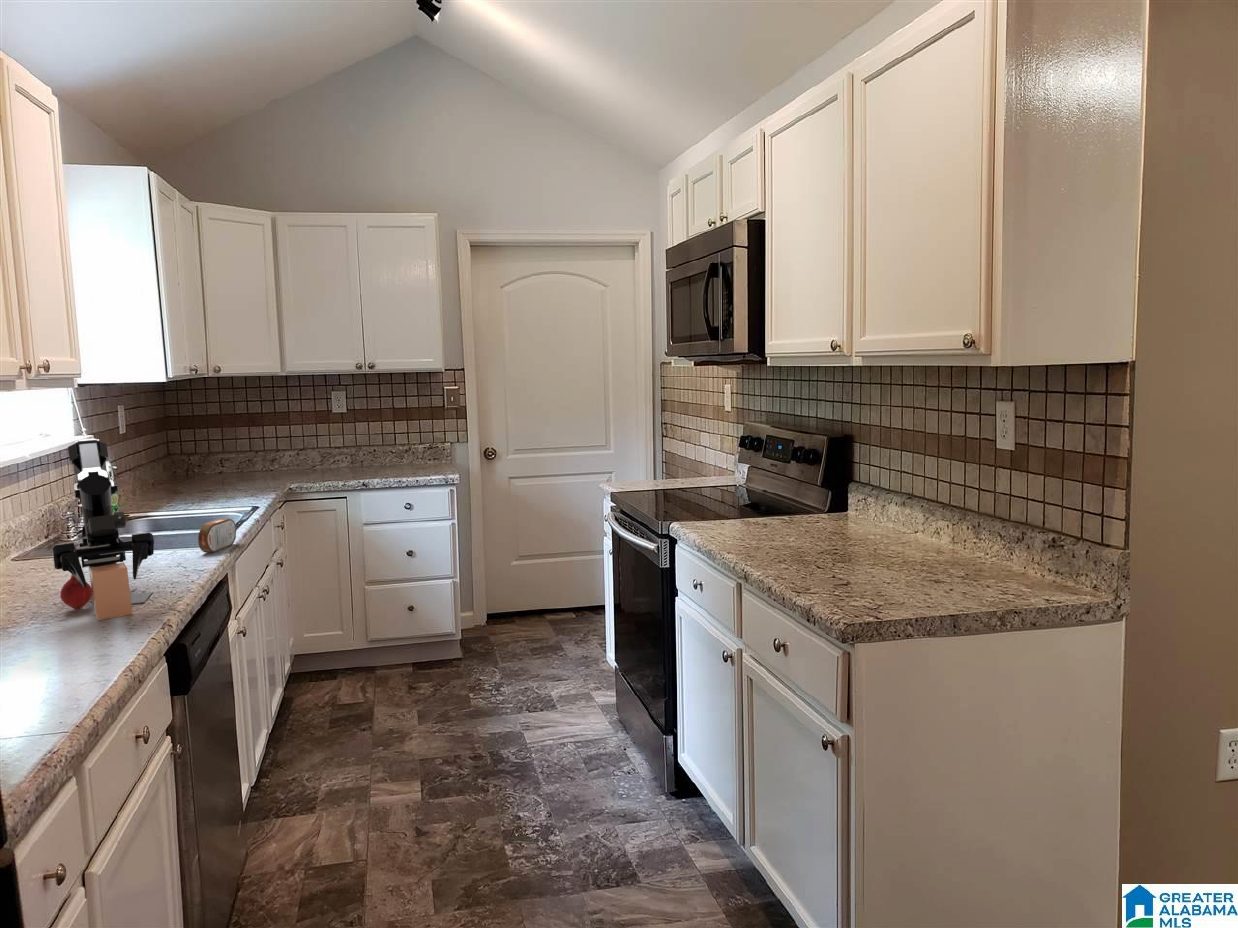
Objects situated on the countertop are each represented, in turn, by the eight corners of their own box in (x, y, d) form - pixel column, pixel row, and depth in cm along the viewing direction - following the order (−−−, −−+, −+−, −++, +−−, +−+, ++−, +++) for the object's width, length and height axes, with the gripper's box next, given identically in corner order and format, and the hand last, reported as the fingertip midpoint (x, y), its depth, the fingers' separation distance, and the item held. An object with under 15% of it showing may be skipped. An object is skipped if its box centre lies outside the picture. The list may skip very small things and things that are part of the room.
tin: (229, 543, 260) (226, 515, 259) (239, 543, 260) (236, 514, 259) (198, 555, 246) (195, 525, 244) (209, 555, 245) (206, 525, 244)
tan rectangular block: (95, 613, 192) (89, 567, 191) (129, 607, 195) (123, 562, 194) (97, 620, 187) (92, 573, 185) (132, 613, 190) (127, 567, 189)
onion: (99, 605, 198) (94, 569, 197) (84, 613, 193) (80, 576, 192) (72, 606, 198) (67, 571, 197) (57, 614, 193) (52, 577, 191)
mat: (109, 597, 205) (109, 596, 205) (152, 593, 207) (152, 591, 207) (98, 608, 196) (98, 606, 196) (144, 603, 198) (143, 601, 198)
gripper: (47, 506, 186) (56, 568, 179) (147, 495, 197) (160, 552, 189) (50, 538, 194) (59, 598, 186) (147, 525, 204) (159, 582, 197)
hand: (110, 582), depth 189 cm, fingers open, 9 cm apart
